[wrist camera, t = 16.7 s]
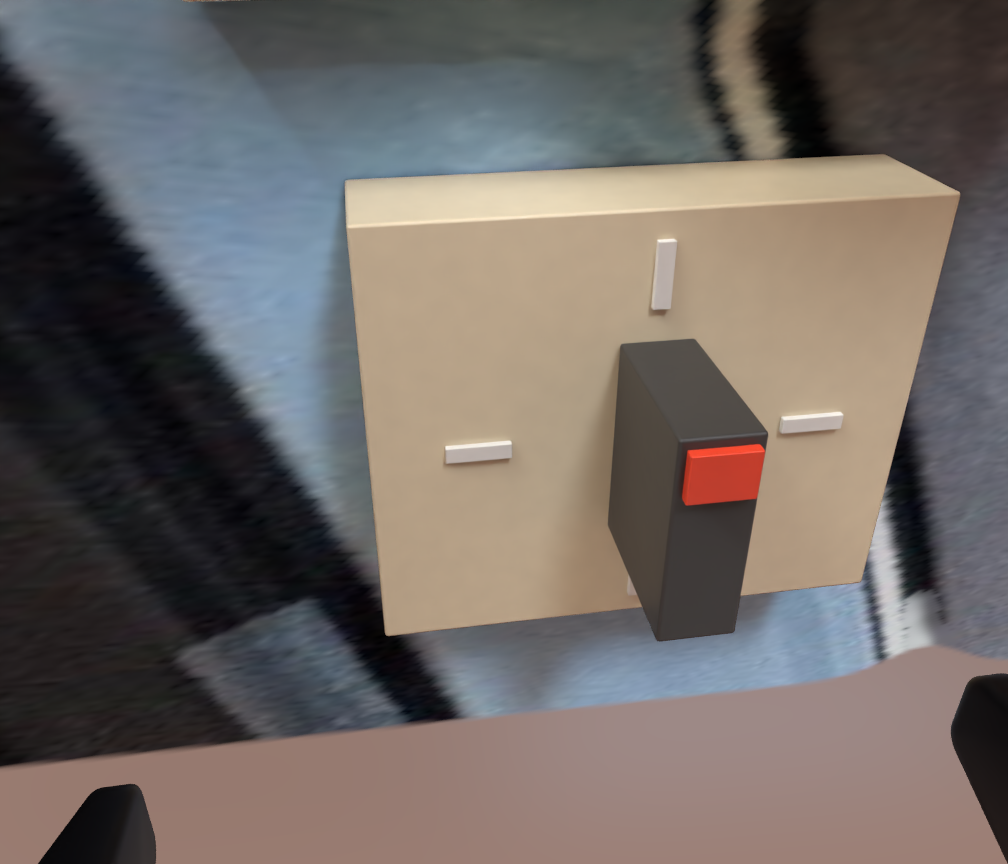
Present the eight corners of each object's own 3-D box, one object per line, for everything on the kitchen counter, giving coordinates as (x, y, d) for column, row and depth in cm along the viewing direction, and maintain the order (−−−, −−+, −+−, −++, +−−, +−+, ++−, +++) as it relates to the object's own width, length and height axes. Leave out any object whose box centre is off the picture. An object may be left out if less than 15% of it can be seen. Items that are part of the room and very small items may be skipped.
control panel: (379, 558, 24) (385, 642, 21) (344, 178, 19) (346, 228, 16) (809, 513, 26) (865, 587, 23) (885, 153, 21) (967, 194, 18)
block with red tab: (674, 518, 21) (740, 643, 18) (606, 525, 21) (660, 652, 17) (695, 337, 19) (776, 439, 15) (619, 342, 18) (684, 448, 15)
